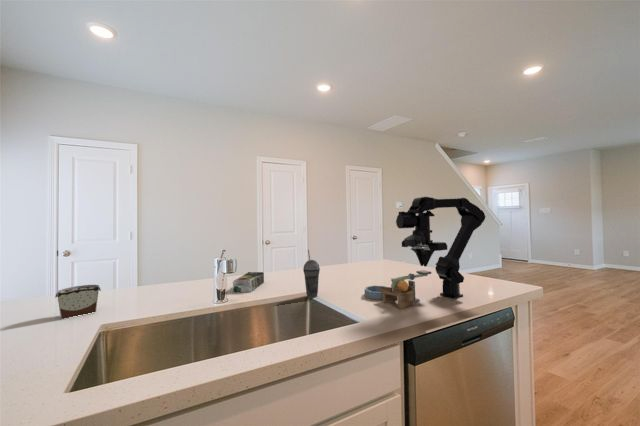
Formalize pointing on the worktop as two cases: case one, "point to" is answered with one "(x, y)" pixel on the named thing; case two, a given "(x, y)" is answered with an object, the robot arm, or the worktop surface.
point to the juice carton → (248, 282)
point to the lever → (408, 277)
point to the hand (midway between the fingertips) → (423, 266)
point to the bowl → (373, 292)
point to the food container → (77, 300)
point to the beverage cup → (311, 277)
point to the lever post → (412, 283)
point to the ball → (402, 286)
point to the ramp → (398, 296)
